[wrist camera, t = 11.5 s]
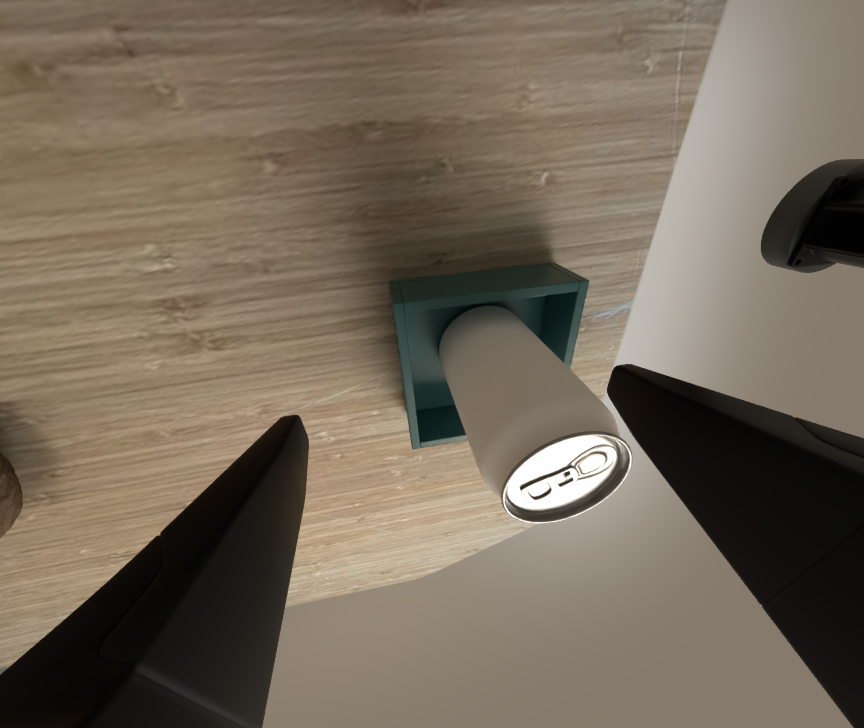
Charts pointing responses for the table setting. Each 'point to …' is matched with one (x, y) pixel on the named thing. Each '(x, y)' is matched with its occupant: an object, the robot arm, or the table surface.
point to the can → (530, 419)
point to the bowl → (8, 496)
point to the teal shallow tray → (452, 296)
